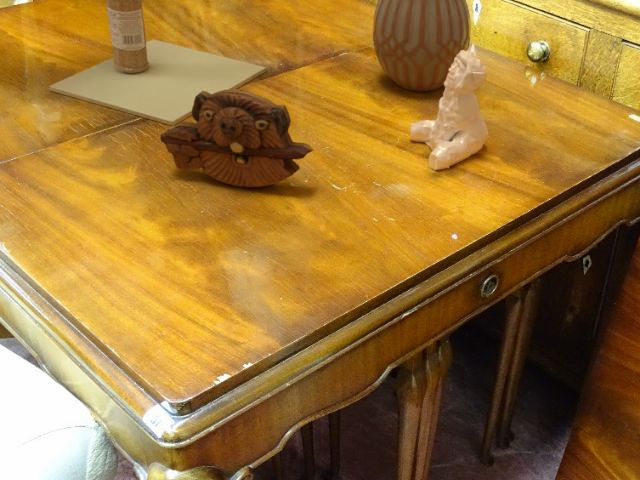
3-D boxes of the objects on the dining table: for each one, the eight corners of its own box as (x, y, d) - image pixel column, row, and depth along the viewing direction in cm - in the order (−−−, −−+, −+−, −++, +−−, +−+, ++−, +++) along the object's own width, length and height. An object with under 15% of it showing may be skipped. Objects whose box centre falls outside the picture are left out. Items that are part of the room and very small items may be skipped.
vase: (408, 110, 101) (413, -32, 90) (354, 75, 109) (353, -59, 98) (485, 89, 107) (498, -46, 96) (429, 57, 115) (435, -70, 104)
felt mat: (49, 90, 100) (48, 86, 100) (153, 43, 114) (152, 39, 114) (173, 126, 94) (172, 121, 94) (266, 71, 108) (266, 67, 108)
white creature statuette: (404, 136, 95) (407, 39, 87) (468, 127, 98) (477, 32, 90) (432, 172, 88) (439, 71, 81) (500, 162, 91) (512, 63, 83)
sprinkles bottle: (149, 59, 107) (139, -41, 98) (149, 75, 104) (139, -28, 95) (114, 58, 106) (101, -43, 97) (112, 74, 103) (99, -30, 94)
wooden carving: (160, 184, 84) (143, 96, 77) (176, 164, 87) (161, 78, 81) (308, 201, 82) (303, 113, 76) (319, 180, 86) (315, 94, 79)
